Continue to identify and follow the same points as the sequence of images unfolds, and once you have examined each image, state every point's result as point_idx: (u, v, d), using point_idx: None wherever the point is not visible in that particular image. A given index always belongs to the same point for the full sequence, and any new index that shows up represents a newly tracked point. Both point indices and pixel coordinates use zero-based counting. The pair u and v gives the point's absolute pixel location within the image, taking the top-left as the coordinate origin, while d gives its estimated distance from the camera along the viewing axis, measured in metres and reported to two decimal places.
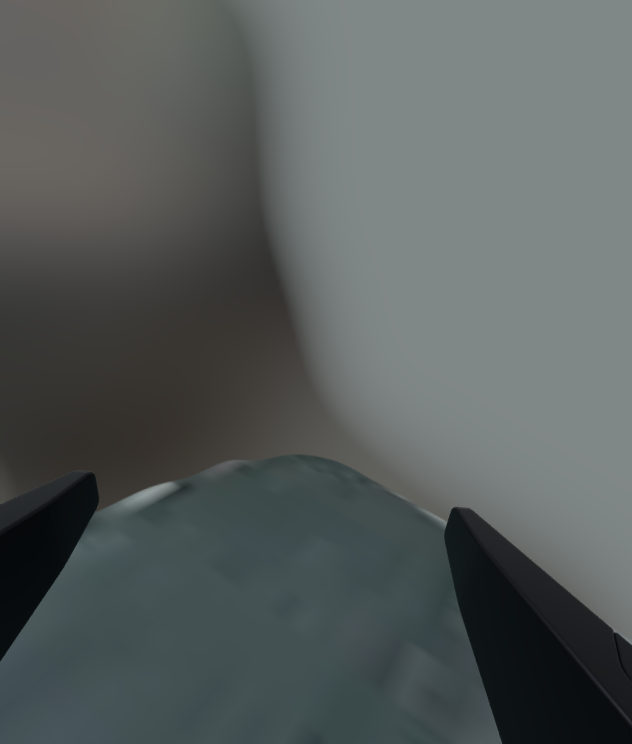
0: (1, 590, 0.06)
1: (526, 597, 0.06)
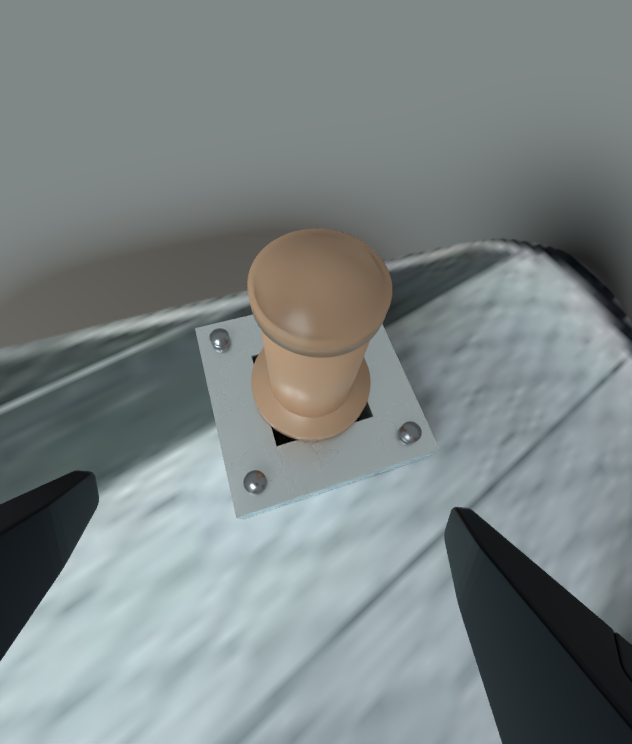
0: (1, 590, 0.06)
1: (526, 597, 0.06)
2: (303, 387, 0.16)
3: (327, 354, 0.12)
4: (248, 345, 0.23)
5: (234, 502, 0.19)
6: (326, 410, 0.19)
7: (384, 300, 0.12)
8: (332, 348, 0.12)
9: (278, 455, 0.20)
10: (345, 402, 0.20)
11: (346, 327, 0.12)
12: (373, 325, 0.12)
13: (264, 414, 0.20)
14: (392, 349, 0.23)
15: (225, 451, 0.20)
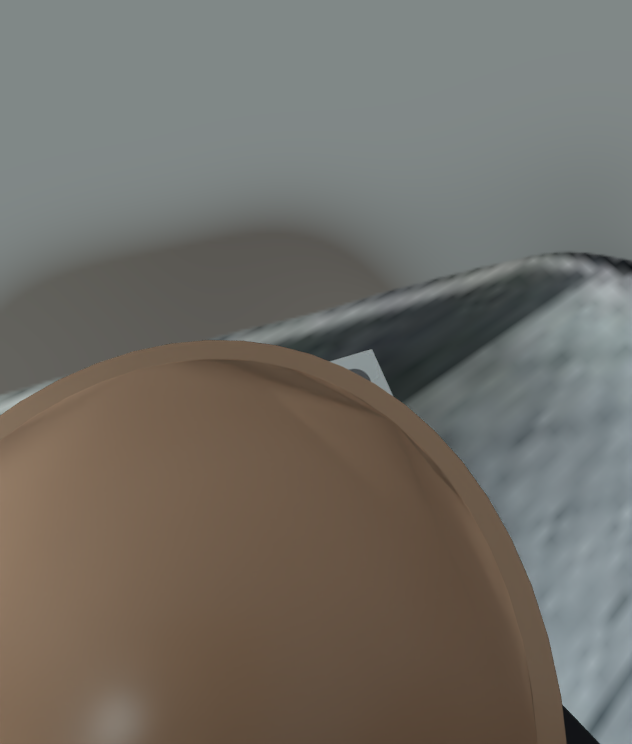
0: None
1: None
2: None
3: None
4: None
5: None
6: None
7: None
8: None
9: None
10: None
11: None
12: None
13: None
14: None
15: None
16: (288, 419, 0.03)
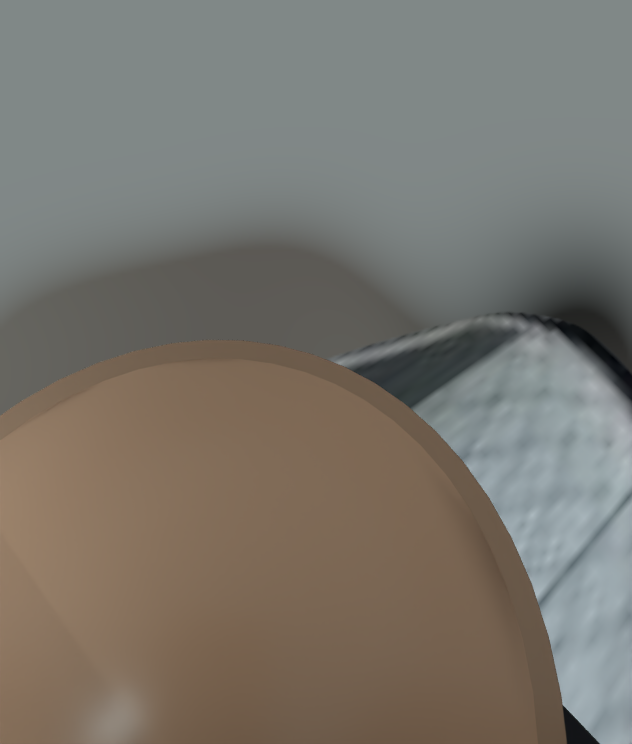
0: None
1: None
2: None
3: None
4: None
5: None
6: None
7: None
8: None
9: None
10: None
11: None
12: None
13: None
14: None
15: None
16: (289, 419, 0.03)
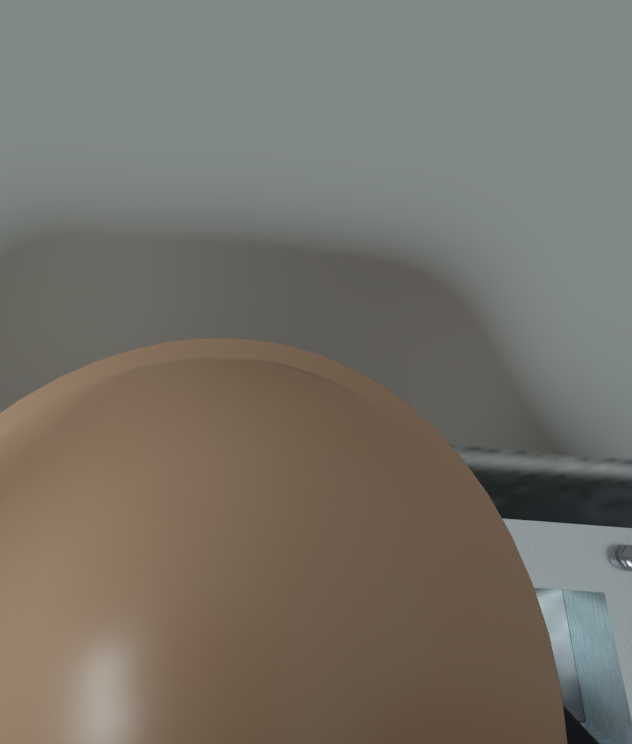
0: None
1: None
2: None
3: None
4: None
5: None
6: None
7: None
8: None
9: None
10: None
11: None
12: None
13: None
14: None
15: None
16: (289, 416, 0.03)
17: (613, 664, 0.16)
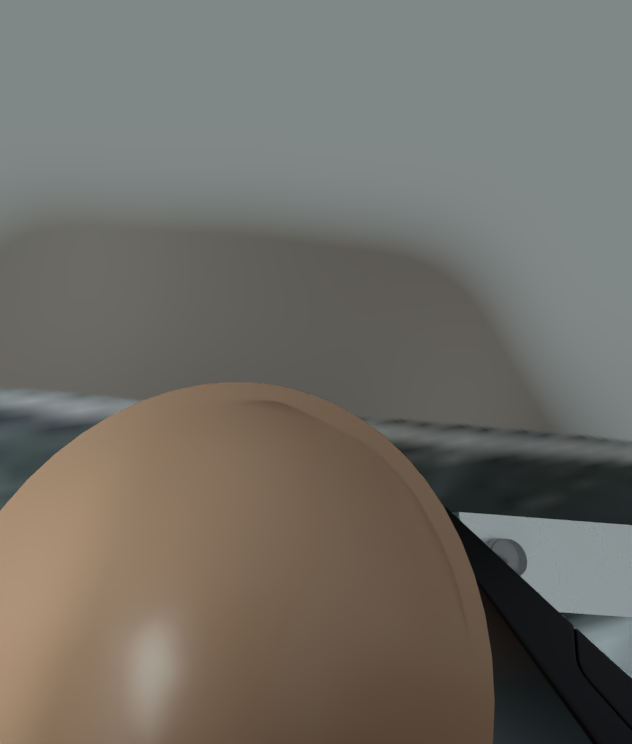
0: None
1: (490, 593, 0.06)
2: None
3: None
4: (548, 585, 0.13)
5: None
6: None
7: (469, 723, 0.03)
8: None
9: None
10: None
11: None
12: None
13: None
14: None
15: None
16: (290, 446, 0.04)
17: None
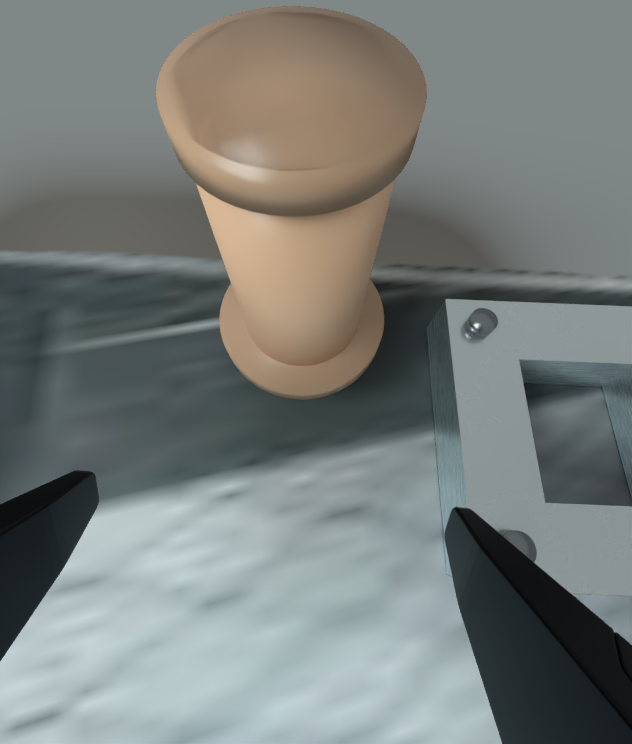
0: (1, 590, 0.06)
1: (526, 597, 0.06)
2: (284, 306, 0.10)
3: (312, 206, 0.06)
4: (516, 343, 0.16)
5: None
6: (324, 352, 0.13)
7: (413, 102, 0.07)
8: (319, 185, 0.06)
9: (547, 517, 0.13)
10: (351, 343, 0.15)
11: (344, 146, 0.06)
12: (396, 141, 0.06)
13: (239, 365, 0.14)
14: None
15: (471, 483, 0.14)
16: (321, 26, 0.08)
17: None
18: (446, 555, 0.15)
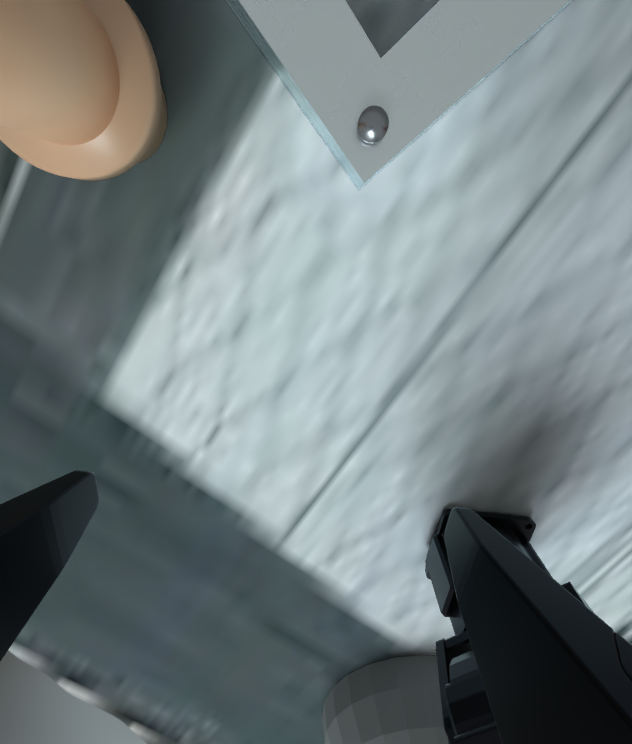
0: (1, 590, 0.06)
1: (526, 597, 0.06)
2: (3, 91, 0.10)
3: None
4: None
5: (354, 165, 0.15)
6: (102, 94, 0.12)
7: None
8: None
9: (388, 72, 0.14)
10: (117, 57, 0.13)
11: None
12: None
13: (70, 175, 0.14)
14: None
15: (314, 100, 0.14)
16: None
17: None
18: (349, 176, 0.17)
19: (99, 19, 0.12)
